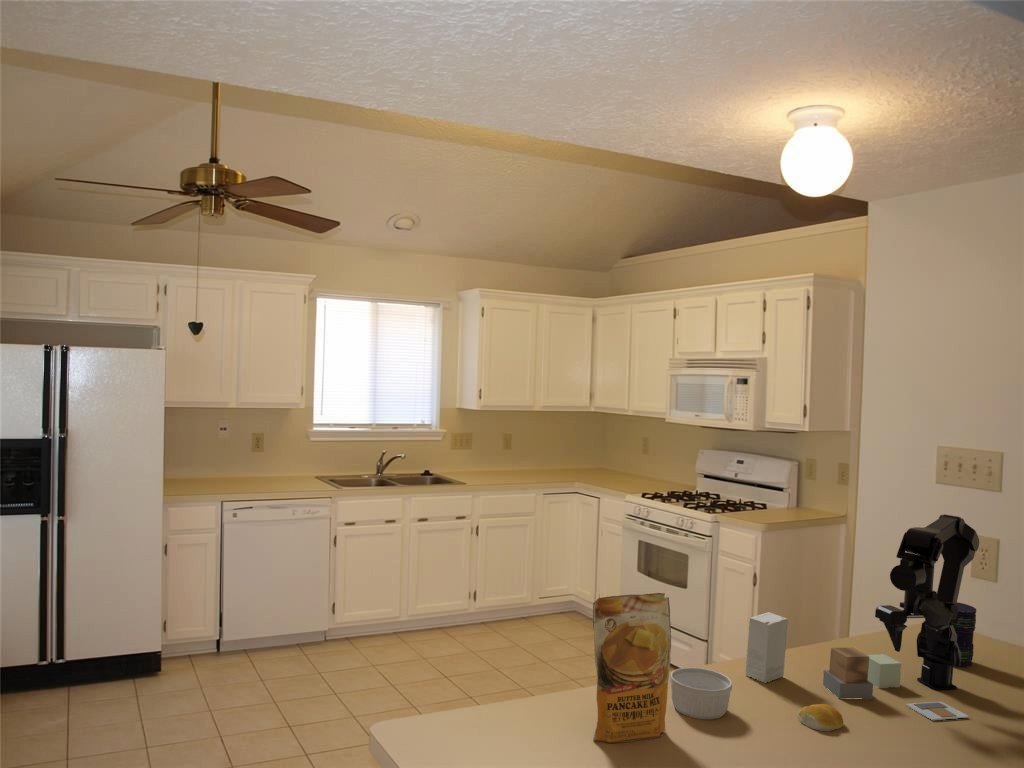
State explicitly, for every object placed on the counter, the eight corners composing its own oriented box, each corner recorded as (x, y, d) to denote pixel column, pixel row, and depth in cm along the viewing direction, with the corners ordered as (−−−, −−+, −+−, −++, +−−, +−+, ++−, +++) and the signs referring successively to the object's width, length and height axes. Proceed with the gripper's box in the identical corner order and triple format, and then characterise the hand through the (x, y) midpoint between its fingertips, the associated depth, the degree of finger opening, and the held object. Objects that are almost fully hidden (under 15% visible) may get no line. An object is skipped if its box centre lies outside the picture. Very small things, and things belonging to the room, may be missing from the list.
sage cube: (882, 677, 206) (884, 654, 206) (899, 687, 200) (901, 663, 200) (861, 679, 205) (863, 655, 204) (878, 688, 199) (880, 664, 199)
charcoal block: (854, 687, 199) (855, 671, 199) (871, 701, 191) (873, 684, 191) (822, 686, 199) (824, 670, 198) (839, 700, 191) (840, 683, 190)
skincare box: (763, 669, 207) (768, 611, 206) (785, 677, 202) (789, 617, 201) (743, 676, 201) (748, 616, 201) (765, 684, 197) (769, 623, 196)
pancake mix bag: (577, 731, 165) (586, 593, 164) (659, 722, 172) (668, 589, 171) (592, 747, 159) (601, 603, 158) (677, 736, 166) (686, 599, 165)
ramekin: (656, 707, 180) (658, 676, 180) (688, 692, 189) (690, 662, 189) (710, 728, 171) (713, 695, 170) (741, 711, 180) (743, 680, 180)
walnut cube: (850, 672, 198) (852, 647, 198) (867, 681, 193) (869, 656, 192) (829, 672, 197) (831, 647, 197) (845, 682, 191) (847, 657, 191)
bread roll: (849, 727, 176) (851, 708, 176) (823, 735, 171) (825, 716, 171) (816, 712, 183) (817, 694, 183) (790, 719, 178) (791, 701, 178)
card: (941, 703, 192) (941, 700, 192) (968, 718, 184) (969, 715, 184) (905, 705, 189) (905, 702, 189) (932, 721, 181) (932, 718, 181)
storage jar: (980, 669, 217) (984, 613, 216) (942, 666, 217) (947, 610, 216) (960, 655, 227) (964, 601, 226) (924, 653, 227) (928, 599, 226)
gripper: (911, 595, 180) (905, 665, 181) (980, 593, 186) (974, 661, 186) (876, 580, 191) (870, 647, 192) (941, 579, 196) (936, 644, 197)
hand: (913, 650), depth 191 cm, fingers open, 9 cm apart
